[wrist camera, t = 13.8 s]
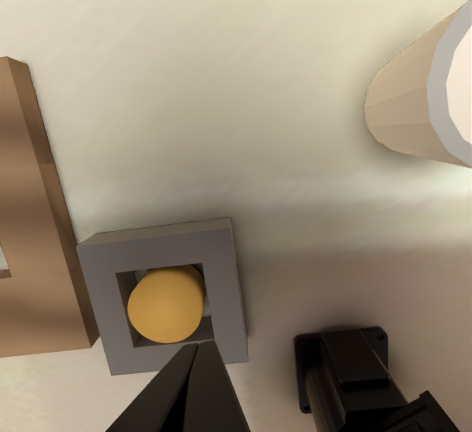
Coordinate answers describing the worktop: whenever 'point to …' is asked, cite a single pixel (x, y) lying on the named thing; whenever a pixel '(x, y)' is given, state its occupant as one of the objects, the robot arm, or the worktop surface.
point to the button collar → (156, 256)
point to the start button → (168, 303)
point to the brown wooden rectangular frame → (36, 234)
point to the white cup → (427, 95)
